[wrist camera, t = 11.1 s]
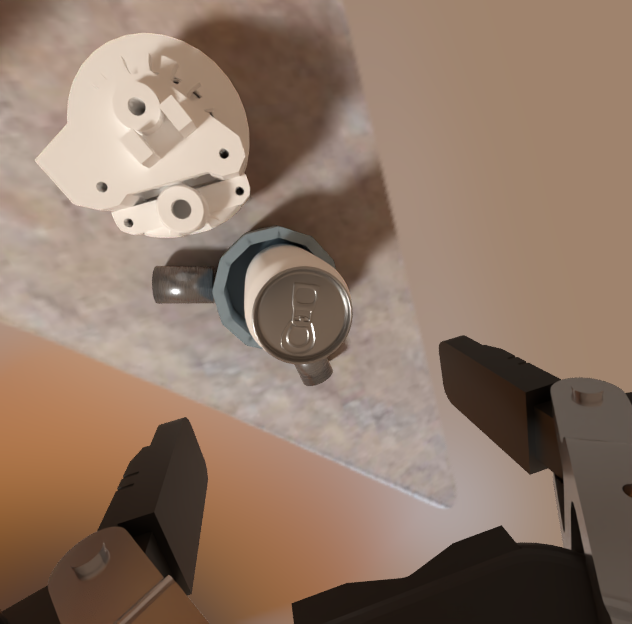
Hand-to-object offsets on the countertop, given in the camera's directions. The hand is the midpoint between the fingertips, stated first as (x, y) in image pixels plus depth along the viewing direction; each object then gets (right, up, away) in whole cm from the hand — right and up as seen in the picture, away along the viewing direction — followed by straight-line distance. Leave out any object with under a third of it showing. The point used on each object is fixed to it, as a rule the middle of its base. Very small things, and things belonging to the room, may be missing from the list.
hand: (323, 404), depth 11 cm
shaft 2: (-1, -1, +23) cm, 23 cm away
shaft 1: (-11, +5, +19) cm, 23 cm away
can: (-3, +6, +20) cm, 21 cm away
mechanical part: (-11, +15, +17) cm, 25 cm away
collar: (-4, +6, +21) cm, 22 cm away
